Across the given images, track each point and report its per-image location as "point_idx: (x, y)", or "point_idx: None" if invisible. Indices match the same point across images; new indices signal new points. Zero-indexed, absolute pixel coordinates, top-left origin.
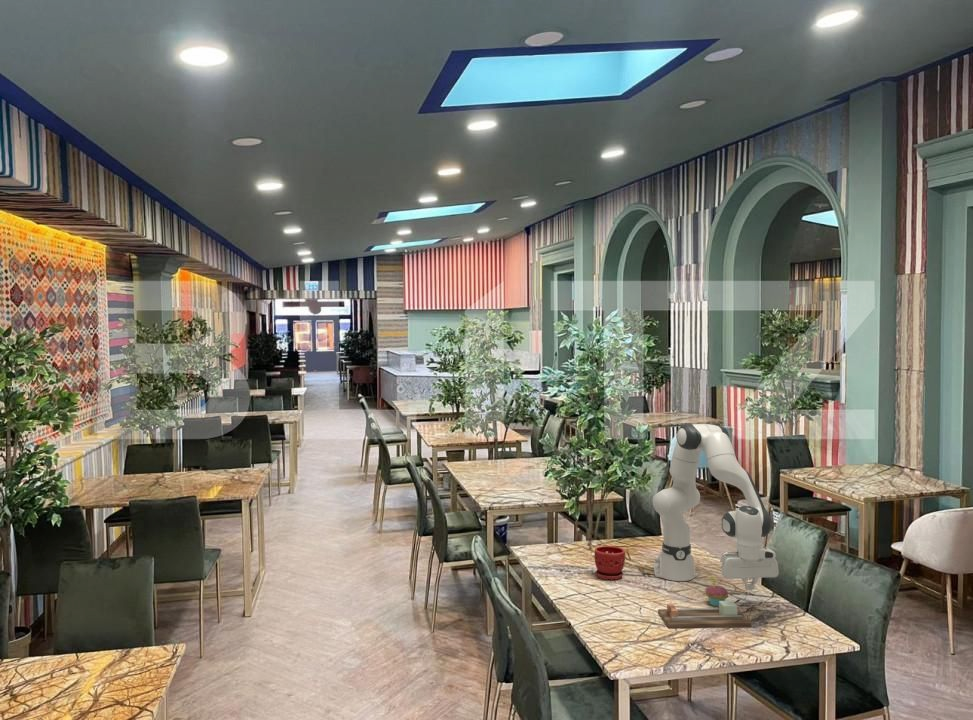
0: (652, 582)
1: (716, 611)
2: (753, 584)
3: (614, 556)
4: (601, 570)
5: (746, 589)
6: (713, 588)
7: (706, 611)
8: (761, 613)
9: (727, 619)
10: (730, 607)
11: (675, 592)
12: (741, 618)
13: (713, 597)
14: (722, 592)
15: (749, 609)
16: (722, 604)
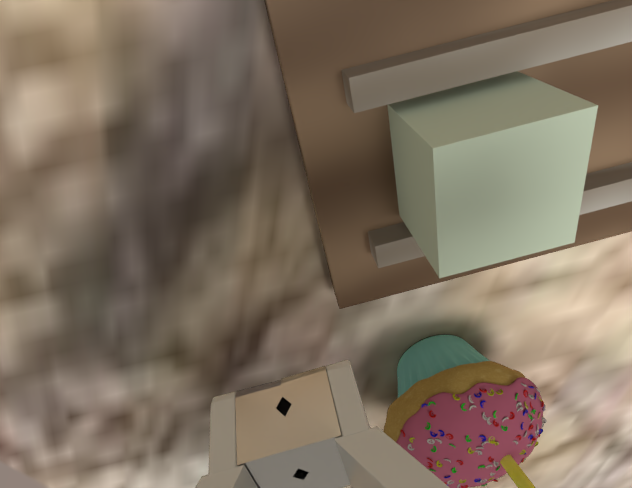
0: (627, 482)
1: None
2: (232, 479)
3: None
4: None
5: (350, 366)
6: (517, 442)
7: (614, 172)
8: (161, 308)
9: (500, 31)
10: (507, 120)
11: (584, 430)
12: (361, 68)
13: (504, 367)
14: (453, 418)
15: (242, 346)
16: (587, 155)
